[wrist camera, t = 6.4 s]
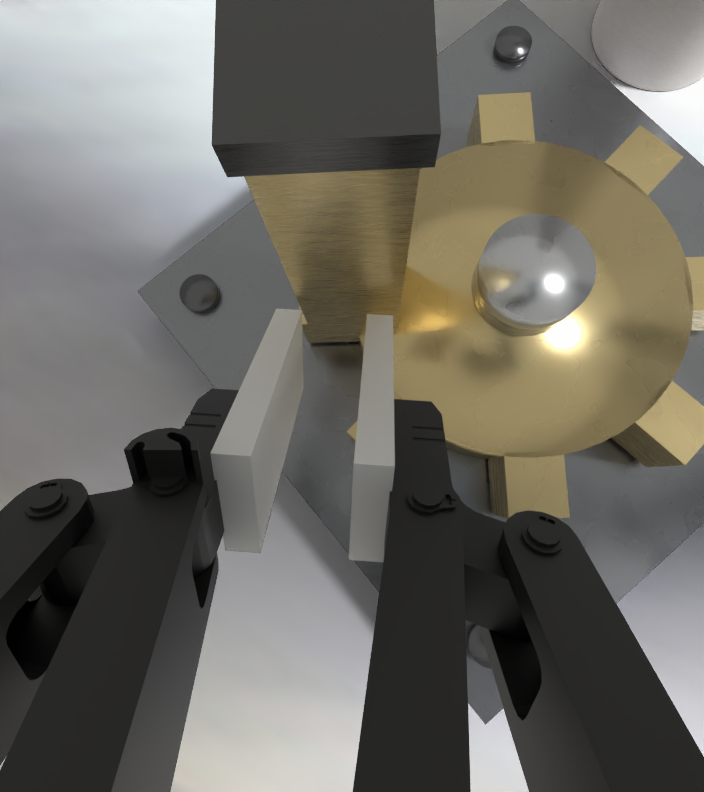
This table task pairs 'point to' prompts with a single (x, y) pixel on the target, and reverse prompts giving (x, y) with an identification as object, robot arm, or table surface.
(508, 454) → the brass gear wheel
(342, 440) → the steel plate
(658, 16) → the coffee cup
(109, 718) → the robot arm
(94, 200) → the table surface
